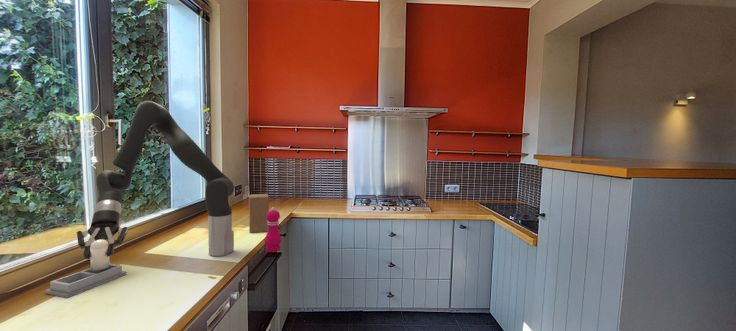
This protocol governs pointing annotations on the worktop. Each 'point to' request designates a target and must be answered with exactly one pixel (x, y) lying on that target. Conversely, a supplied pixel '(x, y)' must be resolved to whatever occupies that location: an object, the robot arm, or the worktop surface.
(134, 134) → the robot arm
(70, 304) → the worktop surface
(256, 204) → the wooden block
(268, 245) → the pepper mill
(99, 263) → the cream capsule shape
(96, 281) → the grey divided tray
